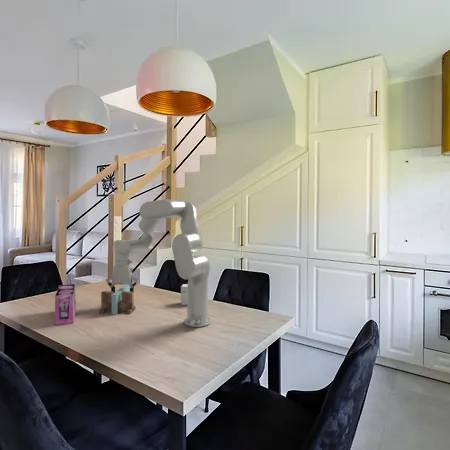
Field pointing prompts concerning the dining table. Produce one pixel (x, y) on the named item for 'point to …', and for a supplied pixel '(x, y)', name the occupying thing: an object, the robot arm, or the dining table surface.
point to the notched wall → (123, 305)
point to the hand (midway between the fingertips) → (122, 294)
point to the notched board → (118, 298)
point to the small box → (184, 294)
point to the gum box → (65, 304)
